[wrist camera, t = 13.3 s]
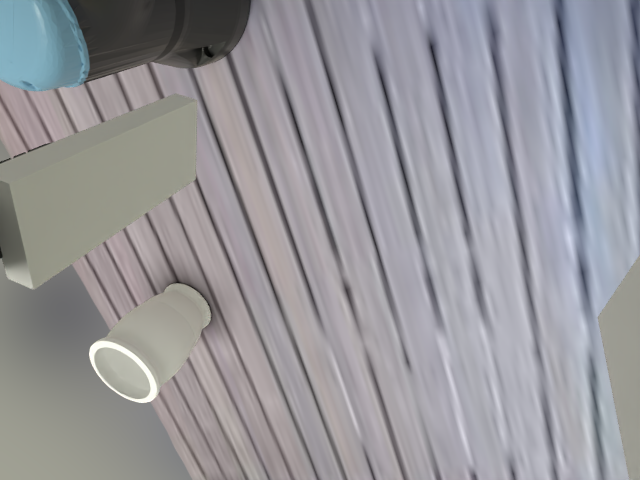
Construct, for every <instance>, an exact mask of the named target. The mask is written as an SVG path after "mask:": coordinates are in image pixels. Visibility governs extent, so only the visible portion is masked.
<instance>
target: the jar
mask: <svg viewBox="0 0 640 480" xmlns="http://www.w3.org/2000/svg"><path fill="white" fill-rule="evenodd" d="M210 320H211V311H210V308H209V305H208V303H207V302H206V300H205V299H204V298H203V296H202V295H201V294H200V293H199V292H197V291H196V290H195V289H193V288H192V287H190V286H187V285H184V284H179V283H175V284H171V285H169V286H168V287H167V288H166V289H165V290H164V293H162V294H159V295H156V296H154V297H152V298H150V299H149V300H147V301H146V302H144V303H143V304H141V305H139V306H137V307H136V308H134V309H133V310H131V311H130V312H129V313H127V314H126V315H125V316H124V317H123V318H122V319H121V320H120V321H119V322H118V323H117V324H116V325H115V326H114V327H113V328H112V330H111V331H110V332H109V334H108V335H107V337H106V338H102V339H99V340H98V341H96V343H94V344H93V345H92V346H91V348H90V352H89V356H90V361H91V363H92V366H93V368H94V370H95V371H96V373H97V374H98V376H99V377H100V378H101V379H102V380H103V382H104V383H105V384H107V386H109V387H110V388H111V389H112V390H114V391H115V392H116V393H118V394H119V395H121V396H123V397H124V398H127V399H129V400H132V401H135V402H140V403H145V402H150V401H152V400H153V399H154V398H155V397H156V396H157V395H158V393H159V391H160V387H161V386H162V385H163V384H164V383H166V382H167V381H168V380H169V379H170V378H172V377H173V376H174V375H175V374H176V373H177V372H178V370H179V369H180V368H181V367H182V366H183V364H184V363H185V362H186V360H187V358H188V357H189V355H190V353H191V351H192V349H193V348H194V346H195V345H196V343H197V341H198V339H199V337H200V335H201V331H202V329H203V328H205V327H206V326H207V325H208V324H209V323H210Z"/></svg>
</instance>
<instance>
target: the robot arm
mask: <svg viewBox="0 0 640 480" xmlns="http://www.w3.org/2000/svg"><path fill="white" fill-rule="evenodd" d="M249 7H250V0H0V80H2V81H4V82H5V83H7V84H10V85H12V86H14V87H17V88H20V89H24V90H29V91H46V90H51V89H56V88H60V87H77V86H79V85H81V84H83V83H86V82H89V81H92V80H95V79H99V78H102V77H105V76H108V75H111V74H115V73H118V72H121V71H124V70H127V69H130V68H134V67H137V66H140V65H143V64H146V63H149V62H154V63H159V64H164V65H168V66H173V67H177V68H197V67H201V66H204V65H207V64H210V63H213V62H216V61H218V60H220V59H222V58H223V57H225V56H226V55H227V54H228V53H229V52H230V51H231V50H232V49H233V48H234V47H235V46H236V44H237V43H238V41H239V40H240V38H241V36H242V34H243V31H244V29H245V26H246V23H247V19H248V14H249ZM196 141H197V100H195V99H192V98H189V97H185V96H182V95H179V94H174V95H171V96H169V97H166V98H164V99H161V100H158V101H156V102H153V103H151V104H148V105H146V106H143V107H141V108H138V109H136V110H133V111H131V112H128V113H126V114H123V115H121V116H118V117H116V118H113V119H111V120H108V121H106V122H103V123H101V124H98V125H96V126H93V127H91V128H88V129H86V130H83V131H81V132H78V133H76V134H73V135H71V136H68V137H66V138H63V139H61V140H58V141H56V142H53V143H48V144H44V145H42V146H39V147H37V148H34V149H32V150H29V151H28V153H25V152H24V153H22V154H19V155H17V156H14V158H13V159H11V158H9V159H7V160H4V161H1V162H0V258H2V260H3V264H4V268H5V272H6V275H7V278H8V279H10V280H12V281H15V282H17V283H20V284H22V285H24V286H26V287H28V288H31V289H33V290H34V289H36V288H37V287H38V286H40V285H41V284H43V283H44V282H46V281H47V280H49V279H50V278H52V277H53V276H54V275H56V274H57V273H59V272H60V271H62V270H63V269H65V268H66V267H68V266H69V265H71V264H72V263H74V262H75V261H77V260H78V259H80V258H81V257H82V256H84V255H85V254H87V253H88V252H90V251H91V250H93V249H94V248H96V247H97V246H99V245H100V244H102V243H103V242H104V241H106V240H107V239H109V238H110V237H112V236H113V235H115V234H116V233H118V232H119V231H121V230H122V229H124V228H125V227H126V226H128V225H129V224H131V223H132V222H134V221H135V220H137V219H138V218H140V217H141V216H143V215H144V214H146V213H147V212H148V211H150V210H151V209H153V208H154V207H156V206H157V205H159V204H160V203H162V202H163V201H165V200H166V199H168V198H169V197H170V196H172V195H173V194H175V193H176V192H178V191H179V190H181V189H182V188H184V187H185V186H187V185H188V184H190V183H191V182H192V181H194V180H195V179H196ZM598 322H599V327H600V332H601V337H602V342H603V347H604V352H605V357H606V363H607V368H608V373H609V378H610V383H611V388H612V393H613V398H614V403H615V409H616V414H617V419H618V424H619V429H620V434H621V439H622V444H623V449H624V454H625V460H626V465H627V470H628V475H629V480H640V255H639V257H638V258H637V260H636V261H635V263H634V264H633V266H632V267H631V269H630V270H629V272H628V273H627V275H626V276H625V278H624V279H623V281H622V282H621V284H620V285H619V286H618V288H617V289H616V291H615V292H614V294H613V295H612V297H611V298H610V300H609V301H608V303H607V304H606V306H605V307H604V309H603V310H602V312H601V313H600V315H599V316H598Z"/></svg>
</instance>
